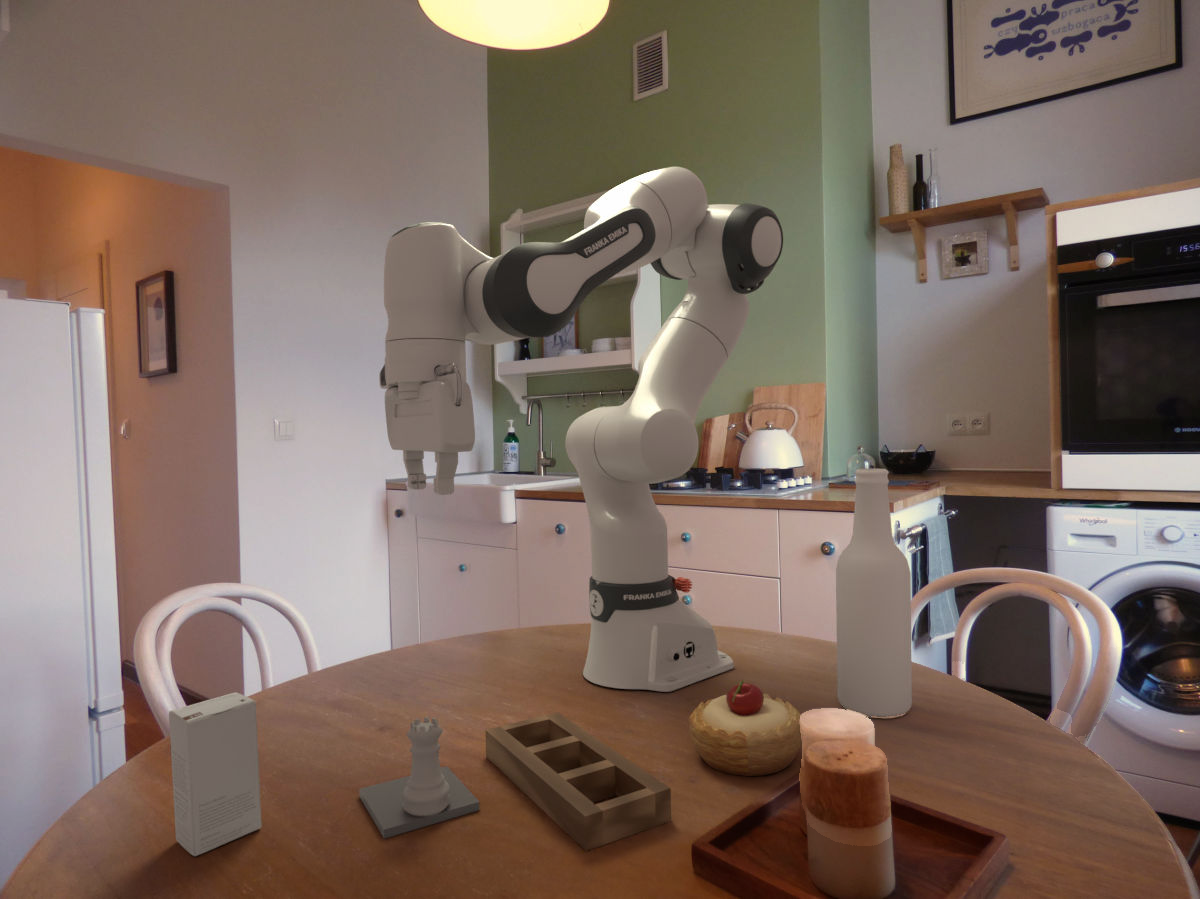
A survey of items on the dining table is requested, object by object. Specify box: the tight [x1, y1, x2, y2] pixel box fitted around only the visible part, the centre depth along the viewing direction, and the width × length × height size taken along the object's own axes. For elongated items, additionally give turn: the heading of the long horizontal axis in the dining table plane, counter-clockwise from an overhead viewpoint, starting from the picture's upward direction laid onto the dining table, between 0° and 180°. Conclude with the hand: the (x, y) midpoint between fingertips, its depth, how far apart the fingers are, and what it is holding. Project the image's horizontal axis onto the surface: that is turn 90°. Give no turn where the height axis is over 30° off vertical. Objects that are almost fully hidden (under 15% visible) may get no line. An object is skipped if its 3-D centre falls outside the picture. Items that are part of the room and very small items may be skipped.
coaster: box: [358, 765, 481, 839], centre depth 73 cm, size 9×9×1 cm
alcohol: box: [835, 468, 913, 719], centre depth 94 cm, size 9×9×30 cm
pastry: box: [688, 679, 802, 777], centre depth 81 cm, size 12×12×9 cm
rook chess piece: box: [402, 716, 451, 817], centre depth 70 cm, size 4×4×8 cm
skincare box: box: [168, 691, 262, 857], centre depth 67 cm, size 6×4×12 cm
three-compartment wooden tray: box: [484, 712, 672, 852], centre depth 76 cm, size 9×22×3 cm, turn 31°
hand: (430, 491), depth 85 cm, fingers open, 8 cm apart
